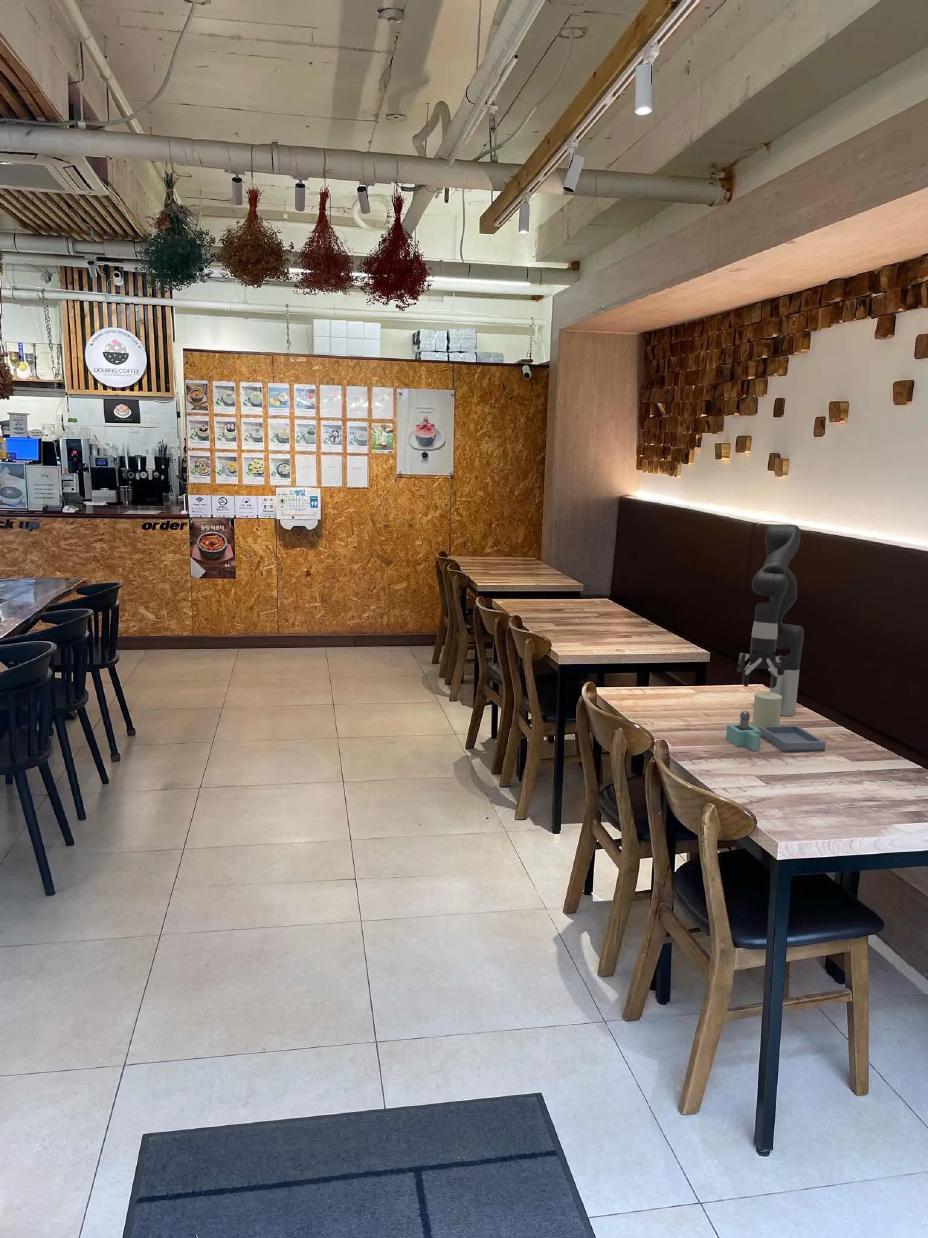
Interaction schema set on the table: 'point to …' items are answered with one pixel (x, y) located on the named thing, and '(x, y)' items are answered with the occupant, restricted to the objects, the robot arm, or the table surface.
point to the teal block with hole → (744, 736)
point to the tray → (792, 738)
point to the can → (766, 709)
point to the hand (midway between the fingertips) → (758, 687)
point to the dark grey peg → (744, 720)
